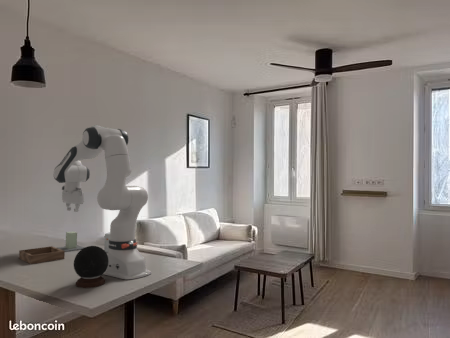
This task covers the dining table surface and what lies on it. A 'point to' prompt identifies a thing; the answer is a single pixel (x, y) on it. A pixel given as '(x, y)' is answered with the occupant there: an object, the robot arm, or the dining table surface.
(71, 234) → the green block
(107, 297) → the dining table surface
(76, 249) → the rubber mat
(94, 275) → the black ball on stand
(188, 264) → the dining table surface
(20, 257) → the walnut crate
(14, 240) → the dining table surface
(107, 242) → the small box
